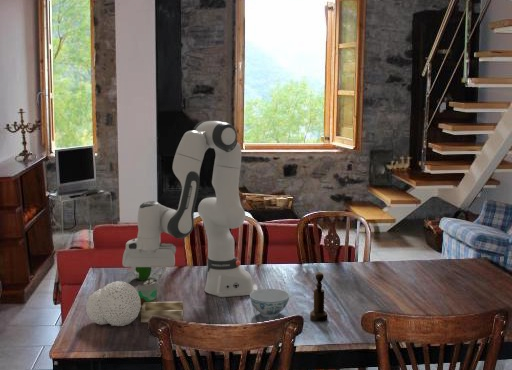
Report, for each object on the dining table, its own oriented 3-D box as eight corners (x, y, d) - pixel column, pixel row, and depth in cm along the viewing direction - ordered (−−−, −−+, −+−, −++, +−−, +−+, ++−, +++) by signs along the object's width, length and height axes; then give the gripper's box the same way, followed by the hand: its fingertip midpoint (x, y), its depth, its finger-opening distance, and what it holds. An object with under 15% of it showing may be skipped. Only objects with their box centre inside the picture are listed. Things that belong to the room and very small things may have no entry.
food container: (153, 311, 266) (152, 286, 264) (137, 310, 267) (137, 285, 265) (163, 301, 278) (163, 277, 276) (149, 300, 279) (148, 276, 277)
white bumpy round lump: (151, 293, 260) (126, 266, 251) (146, 329, 246) (119, 301, 237) (107, 312, 266) (81, 285, 257) (101, 348, 252) (73, 321, 243)
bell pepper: (133, 282, 302) (132, 260, 301) (132, 276, 310) (131, 255, 309) (152, 281, 304) (152, 259, 303) (151, 275, 312) (150, 254, 311)
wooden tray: (183, 311, 265) (183, 301, 265) (181, 321, 255) (181, 310, 254) (143, 312, 264) (143, 302, 264) (141, 322, 254) (140, 311, 253)
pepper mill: (308, 316, 261) (309, 270, 258) (325, 315, 262) (326, 269, 259) (311, 322, 255) (312, 275, 252) (328, 321, 255) (329, 275, 252)
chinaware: (252, 307, 271) (252, 288, 270) (290, 308, 270) (290, 289, 269) (247, 320, 257) (247, 300, 255) (288, 322, 255) (288, 302, 254)
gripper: (176, 241, 272) (175, 275, 274) (123, 241, 270) (123, 275, 272) (175, 245, 265) (175, 280, 268) (121, 244, 264) (121, 279, 266)
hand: (148, 277), depth 270 cm, fingers open, 8 cm apart
